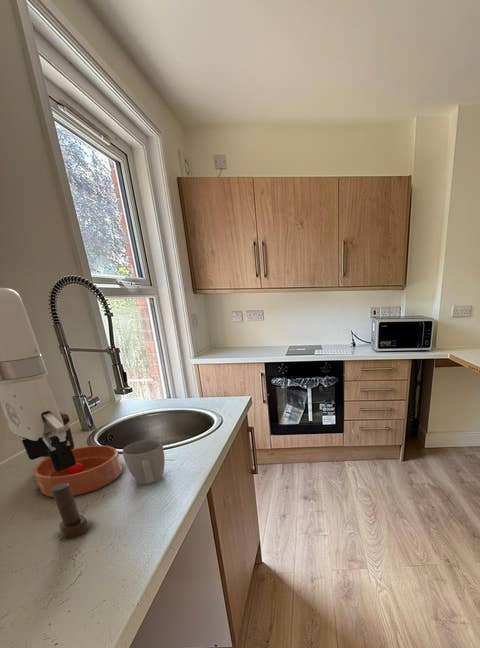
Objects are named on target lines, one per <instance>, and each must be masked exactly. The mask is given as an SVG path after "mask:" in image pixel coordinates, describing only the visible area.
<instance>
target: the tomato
mask: <svg viewBox="0 0 480 648" xmlns="http://www.w3.org/2000/svg"><path fill="white" fill-rule="evenodd" d="M83 471H84V467H83V465H82V464H80V463H78V462H76V464H75V465H74V466H71V467H69V468H67V473H68V474H69V475H71V474H77V473H80V472H83Z"/></svg>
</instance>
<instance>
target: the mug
mask: <svg viewBox="0 0 480 648" xmlns="http://www.w3.org/2000/svg"><path fill="white" fill-rule="evenodd" d="M122 456H123V459H124V463H125V465H126V467H127V469H128V471H129V473H130V475H131V476H132V477H133V478H134V479H135V481H136V482H137V483H138V484H140V485H143V486H144V485H151V484H155V483H157V482H159V481H160V480H162V478H163V475H164V471H165V465H166V461H165V459H166V458H165V451H164V446H163V442H162V441H160V440H158V439H142V440H137V441H135V442H132V443H129V444H127V445H126V446H124V447H123V449H122Z"/></svg>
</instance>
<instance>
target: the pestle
mask: <svg viewBox="0 0 480 648" xmlns="http://www.w3.org/2000/svg"><path fill="white" fill-rule="evenodd" d="M51 492H52V494H53V500H54V502H55V505H56V507H57V510H58V512H59V515H60V517H61V521H60V523H59V525H58V527H59V530H60V532H61V534H62V538H64V539H68V540H69V539H75V538H78V537H80V536H82V535H84V534H86V533H87V532H88V531H89V530H90V525H89V523H88V519H87V517H86V516H85V515H83V514H80V512H79V509H78V507H77V504H76V501H75V498H74V496H73V495H72V492H71V489H70V487H69V484H68V483H61V484H57V485H55V486H53V487H52V488H51Z"/></svg>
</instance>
